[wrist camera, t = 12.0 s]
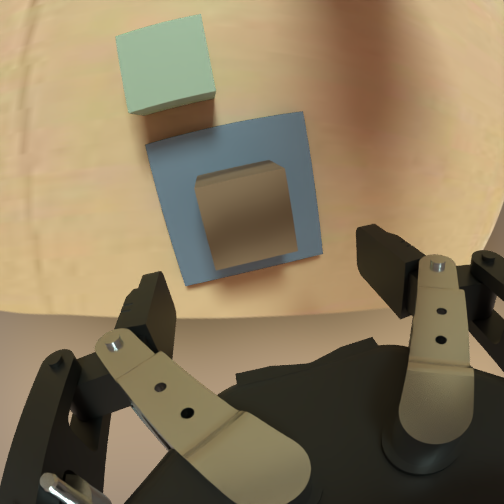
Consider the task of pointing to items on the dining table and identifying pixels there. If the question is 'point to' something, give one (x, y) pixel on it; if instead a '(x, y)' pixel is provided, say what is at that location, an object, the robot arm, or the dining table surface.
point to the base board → (223, 157)
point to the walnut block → (246, 213)
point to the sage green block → (165, 66)
